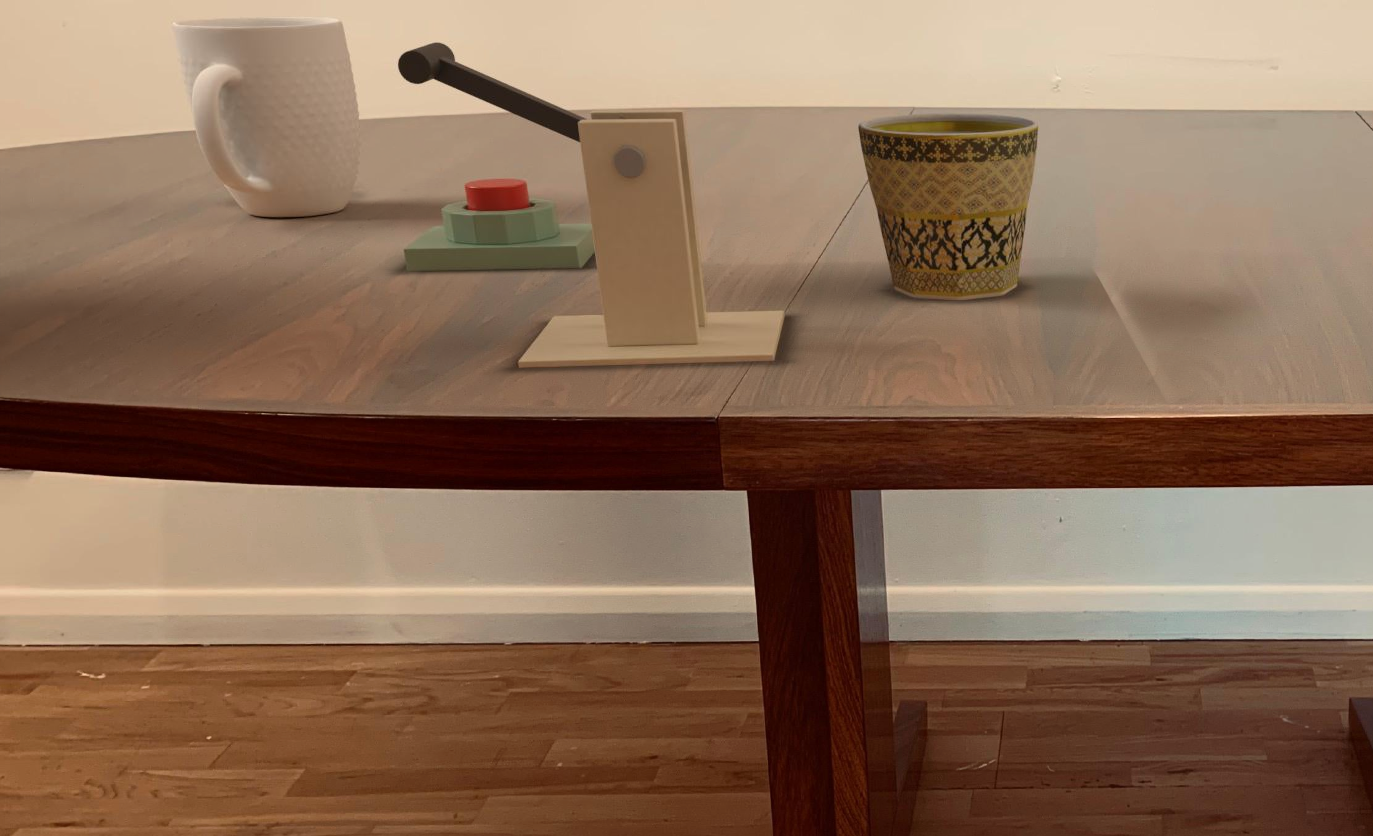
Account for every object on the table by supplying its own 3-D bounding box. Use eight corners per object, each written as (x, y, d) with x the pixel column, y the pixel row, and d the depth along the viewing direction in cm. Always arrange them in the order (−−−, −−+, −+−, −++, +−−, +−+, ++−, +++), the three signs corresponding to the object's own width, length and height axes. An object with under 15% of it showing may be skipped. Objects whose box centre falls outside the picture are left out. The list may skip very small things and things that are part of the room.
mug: (306, 234, 120) (265, 31, 114) (151, 232, 120) (102, 29, 114) (403, 200, 133) (370, 17, 127) (262, 198, 133) (224, 15, 128)
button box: (409, 286, 104) (397, 217, 103) (440, 260, 111) (429, 196, 110) (581, 282, 106) (572, 215, 104) (601, 257, 113) (592, 194, 111)
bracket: (521, 386, 83) (481, 129, 78) (556, 338, 92) (523, 105, 87) (775, 378, 85) (752, 126, 80) (786, 332, 94) (766, 103, 89)
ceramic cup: (1011, 326, 96) (1005, 137, 92) (842, 315, 98) (829, 130, 94) (1077, 281, 107) (1074, 111, 103) (925, 272, 109) (916, 105, 105)
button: (463, 217, 105) (458, 187, 104) (475, 207, 108) (471, 179, 108) (524, 216, 106) (520, 187, 105) (535, 207, 109) (531, 178, 108)
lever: (390, 85, 79) (405, 35, 79) (417, 75, 84) (431, 27, 83) (651, 197, 83) (667, 150, 82) (663, 182, 88) (679, 136, 87)
